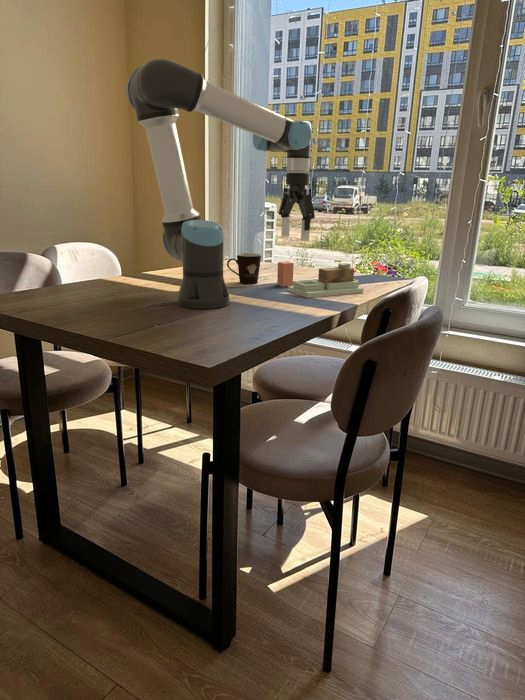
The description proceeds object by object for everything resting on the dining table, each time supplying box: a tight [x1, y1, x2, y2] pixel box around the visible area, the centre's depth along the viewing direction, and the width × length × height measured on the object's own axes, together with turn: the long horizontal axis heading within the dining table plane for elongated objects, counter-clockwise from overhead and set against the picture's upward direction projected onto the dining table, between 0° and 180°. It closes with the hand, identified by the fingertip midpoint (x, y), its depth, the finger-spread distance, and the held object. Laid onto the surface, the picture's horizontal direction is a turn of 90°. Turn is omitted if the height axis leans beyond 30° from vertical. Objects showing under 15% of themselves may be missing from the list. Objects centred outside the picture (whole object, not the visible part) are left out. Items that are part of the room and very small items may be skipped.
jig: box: [287, 278, 364, 299], centre depth 172 cm, size 22×12×4 cm, turn 118°
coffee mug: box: [226, 252, 262, 285], centre depth 183 cm, size 12×9×10 cm
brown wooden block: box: [317, 262, 355, 289], centre depth 172 cm, size 11×4×8 cm, turn 114°
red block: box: [276, 261, 295, 288], centre depth 180 cm, size 4×4×8 cm
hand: (294, 238), depth 175 cm, fingers open, 13 cm apart
